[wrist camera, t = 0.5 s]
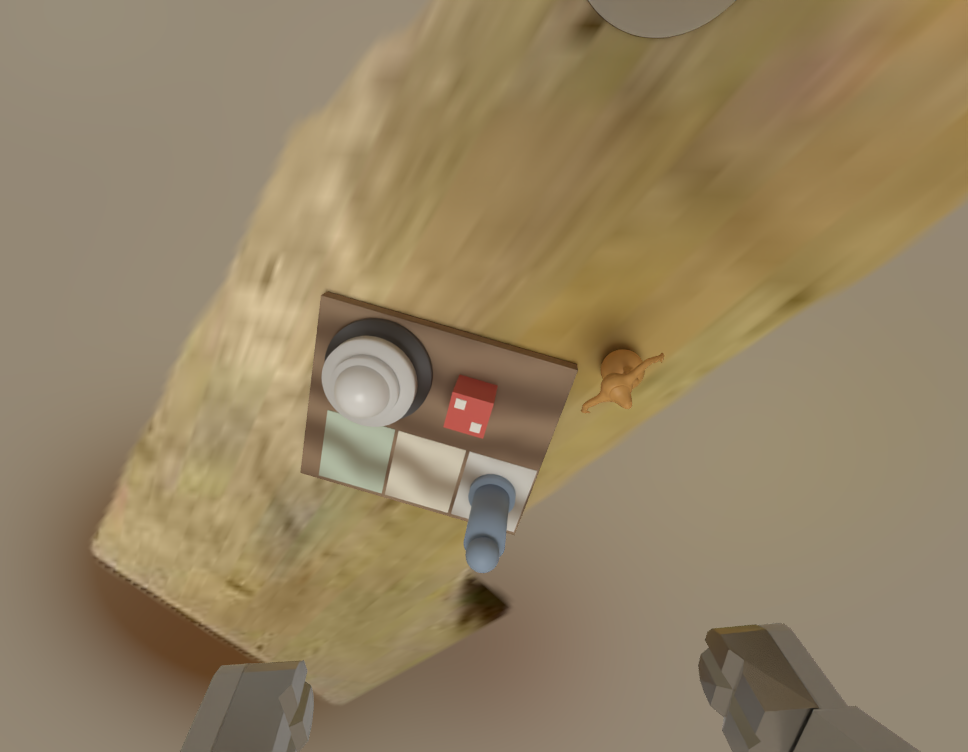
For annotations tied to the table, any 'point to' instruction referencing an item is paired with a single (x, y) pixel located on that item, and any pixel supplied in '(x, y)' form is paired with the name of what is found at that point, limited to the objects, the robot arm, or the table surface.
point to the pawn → (488, 521)
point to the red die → (470, 406)
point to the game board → (435, 414)
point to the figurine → (620, 377)
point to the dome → (369, 381)
